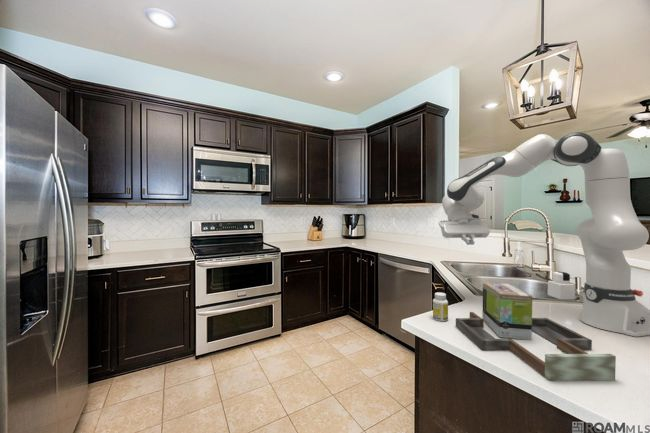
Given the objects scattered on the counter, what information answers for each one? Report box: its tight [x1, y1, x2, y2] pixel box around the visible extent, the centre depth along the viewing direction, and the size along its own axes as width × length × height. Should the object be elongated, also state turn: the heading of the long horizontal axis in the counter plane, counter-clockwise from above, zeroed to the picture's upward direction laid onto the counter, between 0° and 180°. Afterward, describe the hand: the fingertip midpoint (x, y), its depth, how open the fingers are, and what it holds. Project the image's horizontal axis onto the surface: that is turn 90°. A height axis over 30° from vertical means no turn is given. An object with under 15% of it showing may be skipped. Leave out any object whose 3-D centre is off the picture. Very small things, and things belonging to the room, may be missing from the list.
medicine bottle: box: [547, 271, 576, 301], centre depth 126 cm, size 7×7×12 cm
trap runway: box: [455, 311, 617, 382], centre depth 83 cm, size 33×36×6 cm
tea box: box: [481, 282, 533, 341], centre depth 93 cm, size 15×10×15 cm, turn 168°
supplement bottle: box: [432, 292, 449, 322], centre depth 103 cm, size 5×5×10 cm
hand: (471, 243), depth 115 cm, fingers closed
